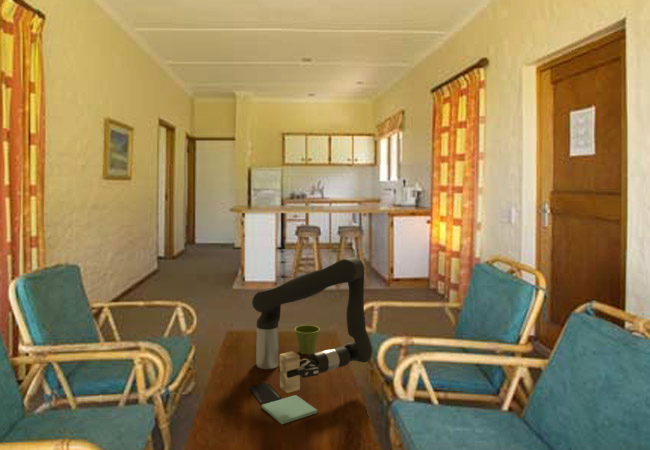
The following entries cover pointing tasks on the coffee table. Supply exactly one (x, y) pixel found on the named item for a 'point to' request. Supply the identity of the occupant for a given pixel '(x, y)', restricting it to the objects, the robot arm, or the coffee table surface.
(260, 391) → the phone
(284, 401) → the green square tile
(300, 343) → the plant pot
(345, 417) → the coffee table surface
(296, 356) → the birch block
